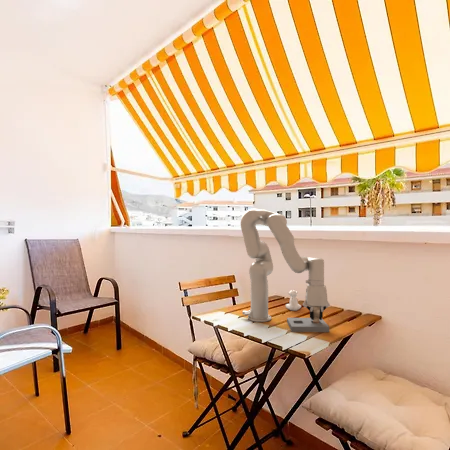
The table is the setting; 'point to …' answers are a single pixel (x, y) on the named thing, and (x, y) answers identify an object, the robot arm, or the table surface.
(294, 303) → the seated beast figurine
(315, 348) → the table surface
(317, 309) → the birch peg
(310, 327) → the hole board
